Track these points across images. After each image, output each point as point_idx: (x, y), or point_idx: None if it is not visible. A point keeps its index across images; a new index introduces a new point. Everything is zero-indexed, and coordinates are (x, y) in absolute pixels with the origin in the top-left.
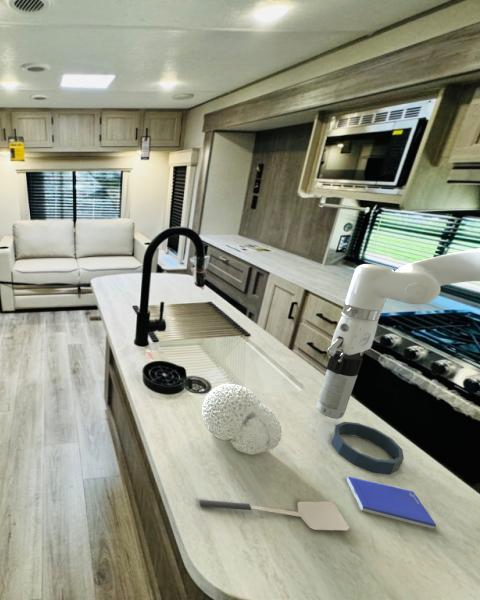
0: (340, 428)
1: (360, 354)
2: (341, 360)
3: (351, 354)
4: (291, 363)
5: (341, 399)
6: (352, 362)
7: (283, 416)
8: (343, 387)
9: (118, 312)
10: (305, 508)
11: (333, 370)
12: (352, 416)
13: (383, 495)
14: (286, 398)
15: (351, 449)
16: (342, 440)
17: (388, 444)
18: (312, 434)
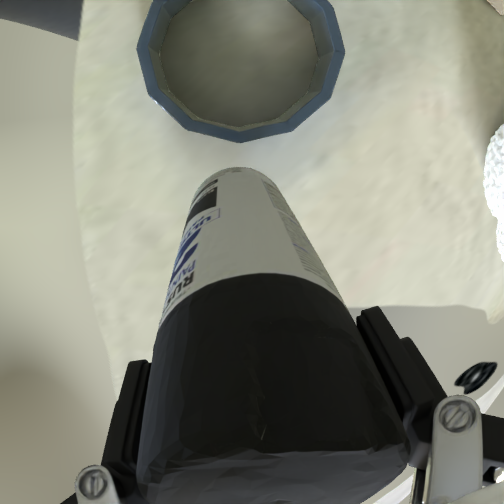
0: (271, 122)
1: (112, 483)
2: (443, 418)
3: (496, 497)
4: None
5: (266, 195)
6: (337, 409)
7: (362, 231)
8: (289, 230)
9: (388, 501)
10: (499, 2)
11: (407, 337)
12: (127, 205)
13: None
14: None
15: (337, 26)
16: (337, 62)
17: (154, 42)
18: (340, 145)
